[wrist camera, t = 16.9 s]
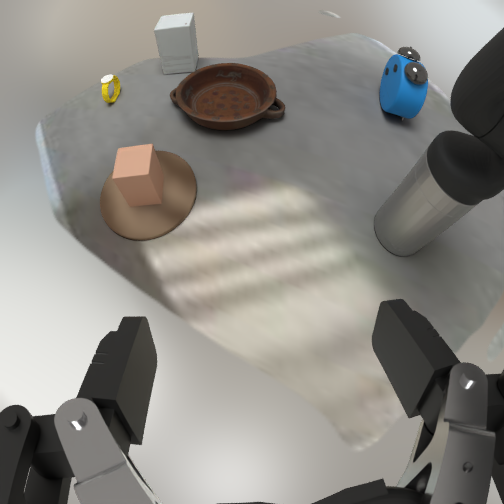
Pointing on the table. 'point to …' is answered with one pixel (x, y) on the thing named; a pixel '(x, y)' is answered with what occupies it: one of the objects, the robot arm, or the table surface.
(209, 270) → the table surface
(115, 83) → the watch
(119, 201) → the post stand
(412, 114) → the alarm clock
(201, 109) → the dish
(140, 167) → the salmon pink block
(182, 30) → the supplement box
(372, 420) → the table surface
